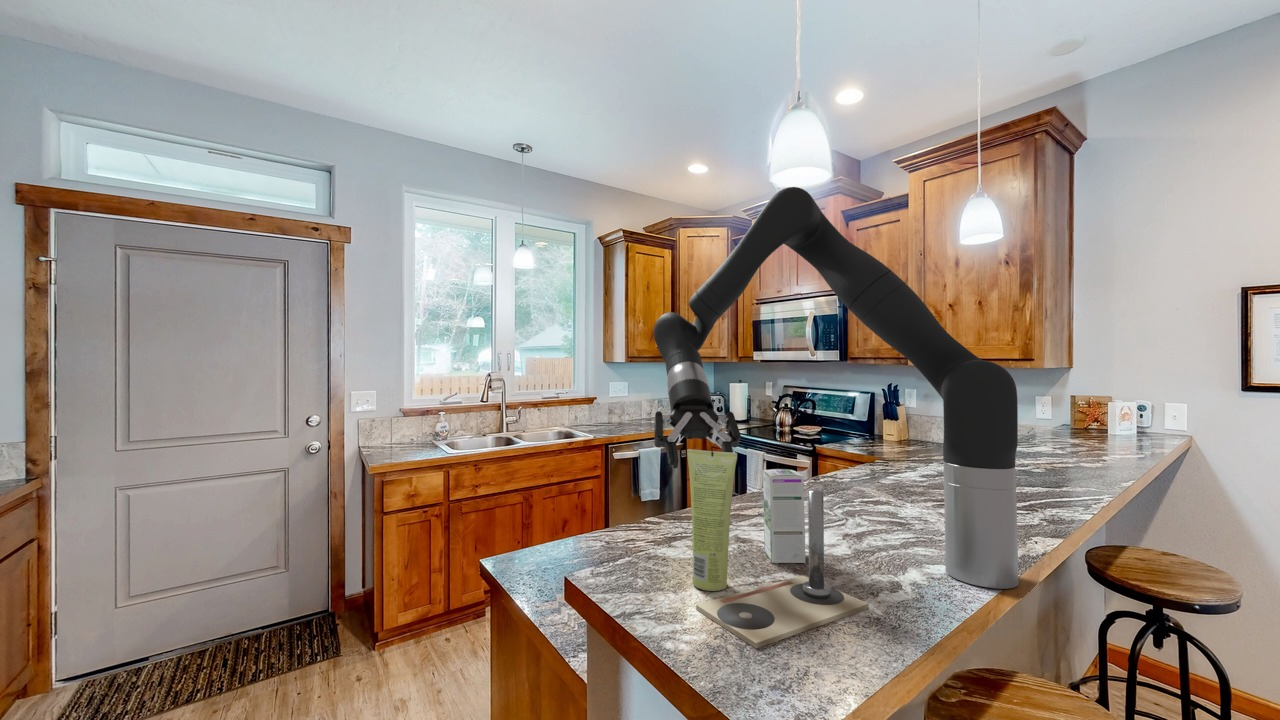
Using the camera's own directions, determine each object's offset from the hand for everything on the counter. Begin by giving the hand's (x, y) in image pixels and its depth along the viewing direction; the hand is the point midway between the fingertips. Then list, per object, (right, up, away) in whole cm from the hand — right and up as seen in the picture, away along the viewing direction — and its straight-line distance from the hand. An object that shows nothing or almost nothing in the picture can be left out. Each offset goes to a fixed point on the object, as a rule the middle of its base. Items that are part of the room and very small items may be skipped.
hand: (702, 465), depth 79 cm
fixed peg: (+14, -16, -11) cm, 24 cm away
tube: (0, -16, -7) cm, 18 cm away
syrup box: (+14, -17, +5) cm, 23 cm away
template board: (+9, -16, -14) cm, 23 cm away
